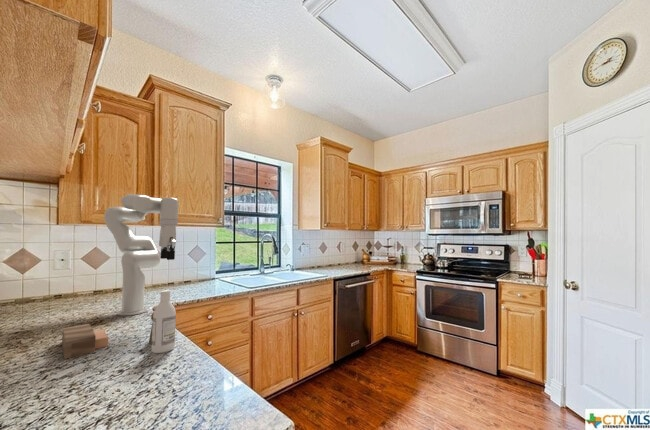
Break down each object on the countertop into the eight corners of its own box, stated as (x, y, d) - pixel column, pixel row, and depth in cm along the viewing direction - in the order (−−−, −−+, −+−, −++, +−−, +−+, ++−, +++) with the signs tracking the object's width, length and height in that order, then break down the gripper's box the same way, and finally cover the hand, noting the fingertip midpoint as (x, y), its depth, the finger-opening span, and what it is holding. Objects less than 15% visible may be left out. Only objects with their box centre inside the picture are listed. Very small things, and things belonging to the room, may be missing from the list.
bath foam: (178, 345, 100) (180, 288, 102) (167, 353, 93) (170, 292, 95) (158, 345, 100) (161, 289, 101) (146, 353, 93) (149, 292, 94)
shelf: (61, 343, 103) (62, 328, 103) (88, 337, 108) (89, 323, 108) (64, 358, 89) (65, 341, 90) (94, 351, 95) (95, 335, 95)
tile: (68, 345, 101) (68, 335, 102) (102, 338, 108) (103, 329, 109) (70, 355, 93) (70, 344, 93) (107, 347, 100) (108, 337, 100)
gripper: (154, 223, 138) (153, 258, 137) (165, 222, 126) (164, 260, 124) (171, 224, 143) (170, 257, 142) (183, 222, 131) (182, 259, 130)
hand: (167, 259), depth 133 cm, fingers open, 9 cm apart
